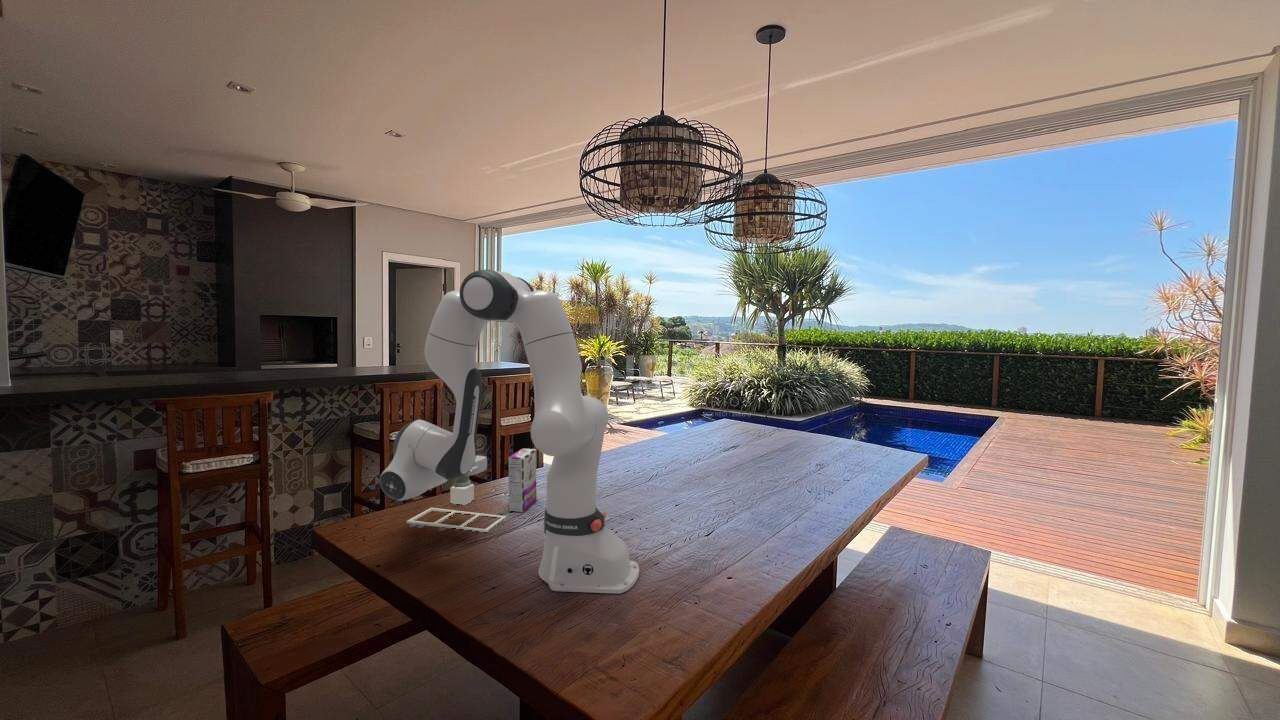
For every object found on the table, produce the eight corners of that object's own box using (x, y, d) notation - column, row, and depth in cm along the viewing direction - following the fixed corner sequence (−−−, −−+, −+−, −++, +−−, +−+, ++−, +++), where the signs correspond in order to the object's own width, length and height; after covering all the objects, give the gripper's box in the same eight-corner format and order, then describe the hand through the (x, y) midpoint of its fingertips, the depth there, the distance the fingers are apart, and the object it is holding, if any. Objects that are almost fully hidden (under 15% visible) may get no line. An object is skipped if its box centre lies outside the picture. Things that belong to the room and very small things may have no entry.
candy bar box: (521, 499, 169) (521, 447, 168) (536, 500, 168) (537, 448, 167) (507, 511, 158) (507, 456, 157) (523, 513, 157) (523, 457, 156)
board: (506, 518, 153) (506, 516, 153) (481, 536, 140) (481, 534, 140) (431, 509, 159) (431, 507, 159) (400, 526, 146) (400, 524, 146)
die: (474, 500, 168) (474, 482, 167) (465, 505, 163) (465, 487, 162) (459, 498, 169) (459, 481, 168) (450, 503, 164) (450, 485, 164)
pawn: (473, 483, 151) (474, 435, 150) (465, 487, 147) (465, 438, 146) (459, 481, 152) (459, 434, 151) (450, 486, 148) (450, 437, 147)
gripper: (471, 459, 134) (498, 447, 147) (399, 452, 138) (432, 441, 152) (471, 484, 134) (498, 470, 148) (399, 476, 139) (431, 463, 152)
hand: (464, 455), depth 150 cm, fingers closed on pawn, 4 cm apart
